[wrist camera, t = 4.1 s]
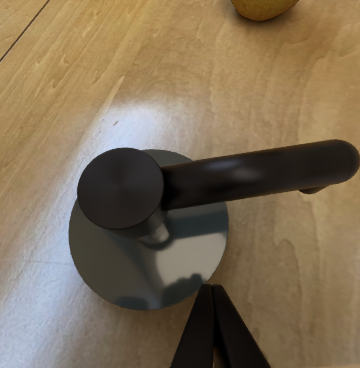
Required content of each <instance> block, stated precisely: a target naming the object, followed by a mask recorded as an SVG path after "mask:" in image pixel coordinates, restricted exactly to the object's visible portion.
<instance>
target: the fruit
mask: <svg viewBox="0 0 360 368" xmlns="http://www.w3.org/2000/svg"><path fill="white" fill-rule="evenodd" d="M298 1H299V0H231V2H232V4H233V5H234V7H235V9H236V10H237V11H238V12H239V13H240V14H241V15H242V16H244V17H246V18H248V19H251V20H254V21H263V20H267V19H271V18H273V17H275V16H277V15H280V14H282V13H283V12H285V11H287V10H289V9H290V8H292V7H293V6H294V5H295V4H296V3H297V2H298Z"/></svg>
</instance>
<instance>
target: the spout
mask: <svg viewBox="0 0 360 368" xmlns="http://www.w3.org/2000/svg"><path fill="white" fill-rule="evenodd" d="M359 167H360V154H359V152H358V150H357V149H356V148H355V147H354V146H353V145H352V144H350V143H348V142H346V141H343V140H337V139H335V140H326V141H319V142H313V143H306V144H300V145H293V146H287V147H280V148H273V149H267V150H260V151H254V152H247V153H241V154H234V155H228V156H221V157H215V158H208V159H202V160H195V161H189V162H182V163H176V164H169V165H163V166H159V165H158V163H157V162H156V161H155V160H154V159H153V158H152V157H151V156H150V155H148V154H147V153H145V152H143V151H141V150H138V149H134V148H116V149H112V150H109V151H106V152H104V153H102V154H100V155H99V156H97V157H96V158H95V159H93V160H92V161H91V162H90V163H89V164H88V165H87V167H86V168H85V169H84V171H83V173H82V175H81V177H80V179H79V182H78V187H77V198H78V203H79V206H80V209H81V211H82V212H83V214H84V215H85V217H86V218H87V219H88V220H89V221H90V222H92V223H93V224H95V225H96V226H98V227H100V228H103V229H105V230H107V231H110V232H112V233H114V234H116V235H119V236H121V237H124V238H133V239H134V238H141V237H144V236H147V235H149V234H151V233H152V232H154V231H155V230H156V229H158V228H159V227H160V225H161V224H162V223H163V221H164V220H165V218H166V216H167V213H168V211H170V210H176V209H183V208H189V207H195V206H201V205H208V204H214V203H220V202H226V201H233V200H239V199H245V198H251V197H258V196H264V195H270V194H276V193H283V192H289V191H295V190H299V191H300V192H302V193H305V194H314V193H317V192H318V191H320V190H322V189H324V188H326V187H327V186H329V185H333V184H339V183H342V182H345V181H347V180H349V179H350V178H352V177H353V176H354V175H355V174H356V173H357V171H358V169H359Z"/></svg>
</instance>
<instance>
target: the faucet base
mask: <svg viewBox="0 0 360 368" xmlns="http://www.w3.org/2000/svg"><path fill="white" fill-rule="evenodd" d="M141 151H143V152H145V153H147V154H148V155H150V156H151V157H152V158H153V159H154V160H155V161H156V162H157V163H158V165H159V166H163V165H169V164H176V163H182V162H189V161H193V160H191V159H189V158H187V157H185V156H183V155H180V154H178V153H175V152H171V151H166V150H155V149H149V150H141ZM228 231H229V220H228V212H227V207H226V203H225V202H220V203H214V204H208V205H201V206H195V207H189V208H183V209H176V210H170V211H168V213H167V216H166V218H165V220H164V221H163V223H162V224H161V225H160V227H159V228H158V229H156V230H155V231H154V232H152V233H151V234H149V235H147V236H144V237H141V238H134V239H133V238H124V237H121V236H119V235H116V234H114V233H112V232H110V231H107V230H105V229H103V228H100V227H98V226H96V225H95V224H93V223H92V222H90V221H89V220H88V219H87V218H86V217H85V215H84V214H83V212H82V211H81V209H80V206H79V203H78V198H77V199H76V201H75V204H74V207H73V209H72V213H71V217H70V222H69V246H70V251H71V255H72V258H73V261H74V264H75V266H76V268H77V270H78V272H79V274H80V276H81V277H82V278H83V280H84V281H85V283H86V284H87V285H88V286H89V287H90V288H91V289H92V290H93V291H94V292H95V293H97V294H98V295H99V296H100V297H102V298H103V299H105V300H107V301H109V302H110V303H112V304H115V305H118V306H120V307H123V308H128V309H133V310H155V309H161V308H165V307H169V306H172V305H174V304H177V303H179V302H181V301H183V300H185V299H186V298H188V297H190V296H192V295H193V294H194V293H195V292H197V291H198V290H199V289H200V286H201V284H205V283H206V282H207V281H208V280H209V279H210V277H211V276H212V275H213V273H214V272H215V271H216V269H217V267H218V265H219V263H220V261H221V259H222V257H223V254H224V251H225V248H226V244H227V240H228Z"/></svg>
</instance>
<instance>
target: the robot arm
mask: <svg viewBox="0 0 360 368" xmlns="http://www.w3.org/2000/svg"><path fill="white" fill-rule="evenodd" d="M213 362H214V368H271V367H270V365H269V364H268V362H267V360H266V358H265V357H264V355H263V353H262V352H261V350H260V348H259V347H258V345H257V343H256V342H255V340H254V338H253V337H252V335H251V333H250V332H249V330H248V328H247V327H246V325H245V323H244V321H243V320H242V318H241V316H240V315H239V313H238V311H237V310H236V308H235V306H234V305H233V303H232V301H231V300H230V298H229V296H228V295H227V293H226V291H225V289H224V288H223V286H222V285H217V284H213V285H212V286H211V284H201V286H200V289H199V292H198V294H197V297H196V300H195V302H194V305H193V308H192V310H191V313H190V316H189V318H188V321H187V324H186V326H185V329H184V331H183V334H182V337H181V339H180V342H179V345H178V347H177V350H176V353H175V355H174V358H173V361H172V363H171V367H170V368H213Z"/></svg>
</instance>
